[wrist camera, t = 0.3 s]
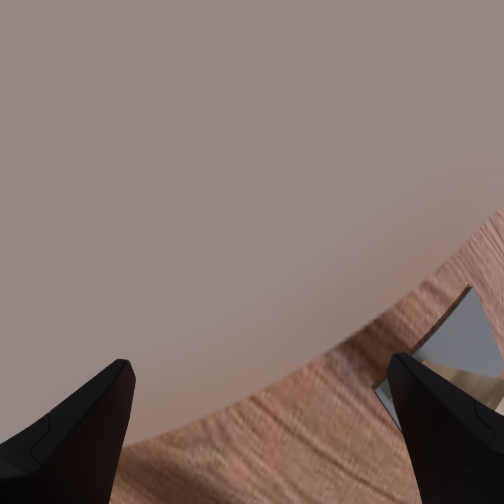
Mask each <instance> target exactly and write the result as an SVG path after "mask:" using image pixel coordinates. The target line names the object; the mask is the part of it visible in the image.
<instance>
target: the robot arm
mask: <svg viewBox="0 0 504 504" xmlns="http://www.w3.org/2000/svg"><path fill="white" fill-rule="evenodd" d="M387 379H388V383H389V387H390V391H391V396H392V400H393V405H394V409H395V412H396V415H397V418H398V421H399V424H400V427H401V430H402V433H403V436H404V440H405V443H406V446H407V449H408V453H409V456H410V459H411V463H412V466H413V470H414V473H415V477H416V481H417V484H418V488H419V492H420V496H421V500H422V504H504V416H503V415H501V414H499V413H498V412H496V411H494V410H492V409H491V408H489V407H487V406H486V405H484V404H483V403H481V402H480V401H478V400H477V399H475V398H473V397H472V396H470V395H469V394H467V393H466V392H464V391H463V390H461V389H460V388H458V387H457V386H455V385H454V384H452V383H451V382H449V381H448V380H446V379H445V378H443V377H442V376H440V375H439V374H437V373H436V372H434V371H433V370H431V369H430V368H428V367H427V366H425V365H424V364H422V363H421V362H419V361H418V360H416V359H415V358H413V357H412V356H410V355H409V354H407V353H405V352H398V353H394V354H393V355H392V358H391V360H390V363H389V365H388V368H387ZM135 383H136V377H135V374H134V371H133V369H132V366H131V363H130V362H129V361H128V360H126V359H117V360H115V361H114V362H113V363H111V364H110V365H109V366H107V367H106V368H105V369H104V370H102V371H101V372H100V373H98V374H97V375H96V376H95V377H93V378H92V379H91V380H89V381H88V382H87V383H86V384H84V385H83V386H82V387H81V388H79V389H78V390H77V391H75V392H74V393H73V394H71V395H70V396H69V397H68V398H66V399H65V400H64V401H62V402H61V403H60V404H59V405H57V406H56V407H55V408H53V409H52V410H51V411H50V413H47V414H46V415H44V416H43V417H42V418H40V419H39V420H38V421H36V422H35V423H34V424H32V425H31V426H29V427H27V428H26V429H24V430H23V431H21V432H20V433H18V434H16V435H15V436H13V437H11V438H10V439H8V440H6V441H5V442H3V443H1V444H0V504H109V501H110V496H111V491H112V487H113V482H114V478H115V473H116V469H117V465H118V461H119V457H120V453H121V449H122V445H123V441H124V437H125V434H126V430H127V426H128V423H129V419H130V413H131V406H132V400H133V394H134V389H135Z"/></svg>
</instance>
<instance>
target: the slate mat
mask: <svg viewBox="0 0 504 504" xmlns="http://www.w3.org/2000/svg"><path fill="white" fill-rule="evenodd" d="M411 356H412V357H413V358H415V359H416V360H418V361H419V362H421V360H426V361H430V362H433V363H437V364H440V365H444V366H448V367H452V368H455V369H459V370H463V371H467V372H471V373H475V374H479V375H483V376H487V377H492V378H497V377H498V376H499V374H500V373H501V371H502V370H503V368H504V364H503V361H502V358H501V354H500V351H499V349H498V346H497V343H496V340H495V337H494V335H493V332H492V329H491V327H490V324H489V322H488V319H487V317H486V314H485V312H484V310H483V307H482V305H481V303H480V301H479V298H478V296H477V294H476V292H475V290H474V288H473V287H470V289H469V290H468V291H467V293H466V294H465V295H464V296H463V298H462V299H461V300H460V302H459V303H458V304H457V305H456V306H455V308H454V309H453V310H452V311H451V313H450V314H449V315H448V316H447V317H446V318H445V320H444V321H443V322H442V323H441V324H440V325H439V326H438V327H437V329H436V330H435V331H434V332H433V333H432V334H431V335H430V336H429V337H428V338H427V339H426V340H425V342H424V343H423V344H422V345H421V346H420V347H419V348H418V349H417V350H416V351H415V352H414V353H413V354H412V355H411ZM373 390H374V391H375V393H376V394H377V396H378V397H379V399H380V400H381V402H382V403H383V405H384V406H385V408H386V409H387V411H388V412H389V414H390V415H391V417H392V418H393V420H394V421H395V423H396V424H397V426H398V427H399V429H400V430H401V427H400V424H399V421H398V418H397V415H396V412H395V409H394V405H393V403H392V402H391V401H390V398H391V397H392V396H391V391H390V387H389V383H388V379H387V378H386V379H385V380H384V381H383V382H382V383H380V384H379V385H378V386H377V387H376V388H375V389H373ZM401 432H402V430H401Z"/></svg>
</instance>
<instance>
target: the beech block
mask: <svg viewBox="0 0 504 504" xmlns="http://www.w3.org/2000/svg"><path fill="white" fill-rule="evenodd" d="M421 363H422V364H424V365H425V366H427V367H428V368H430V369H431V370H433V371H434V372H436V373H437V374H439V375H440V376H442V377H443V378H445V379H446V380H448V381H449V382H451V383H452V384H454V385H455V386H457V387H458V388H460V389H461V390H463V391H464V392H466V393H467V394H469V395H470V396H472V397H473V398H475V399H477V400H478V401H480V402H481V403H483V404H484V405H486V406H487V407H489V408H491V409H492V410H494V411H496V412H498V413H499V414H501V415H503V416H504V380H500V379H496V378H492V377H487V376H483V375H479V374H475V373H471V372H467V371H463V370H459V369H455V368H452V367H448V366H444V365H440V364H437V363H433V362H430V361H426V360H421ZM390 401H391V402H392V403H393V400H392V397H391V398H390Z"/></svg>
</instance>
